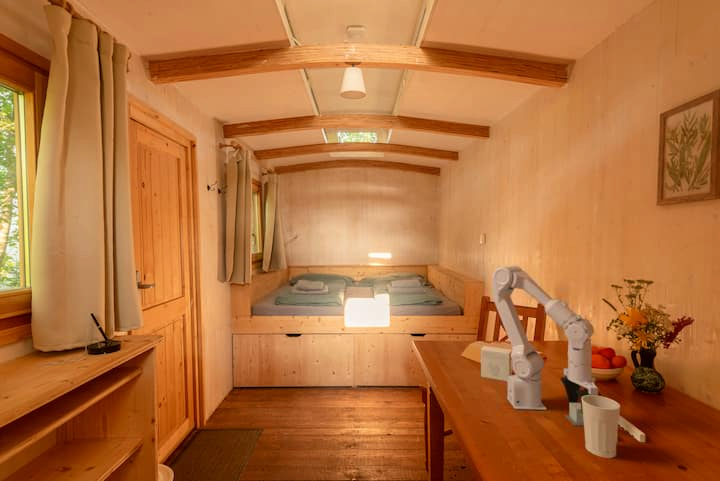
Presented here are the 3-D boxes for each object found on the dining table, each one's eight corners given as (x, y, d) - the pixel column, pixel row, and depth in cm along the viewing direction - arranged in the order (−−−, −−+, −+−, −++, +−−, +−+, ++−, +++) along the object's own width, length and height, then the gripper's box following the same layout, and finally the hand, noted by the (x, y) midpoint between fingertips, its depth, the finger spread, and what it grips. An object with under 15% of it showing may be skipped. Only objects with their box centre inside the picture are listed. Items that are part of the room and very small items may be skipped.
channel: (612, 441, 93) (612, 433, 93) (583, 415, 107) (583, 408, 107) (645, 442, 93) (645, 434, 93) (611, 416, 106) (611, 409, 106)
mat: (574, 425, 101) (574, 424, 101) (564, 416, 107) (564, 414, 107) (595, 426, 101) (595, 425, 101) (584, 416, 106) (584, 415, 106)
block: (576, 423, 102) (576, 409, 102) (569, 416, 106) (569, 402, 106) (591, 423, 101) (591, 409, 101) (583, 416, 105) (583, 403, 105)
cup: (574, 442, 93) (574, 395, 93) (603, 440, 94) (603, 394, 94) (597, 460, 85) (597, 410, 85) (628, 459, 86) (628, 408, 86)
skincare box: (512, 376, 137) (512, 349, 137) (509, 382, 132) (509, 353, 132) (484, 371, 143) (484, 344, 143) (480, 376, 138) (480, 349, 138)
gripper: (609, 371, 96) (610, 422, 96) (580, 354, 110) (580, 398, 110) (582, 371, 97) (582, 421, 97) (556, 353, 111) (556, 397, 111)
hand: (579, 409), depth 104 cm, fingers open, 7 cm apart
